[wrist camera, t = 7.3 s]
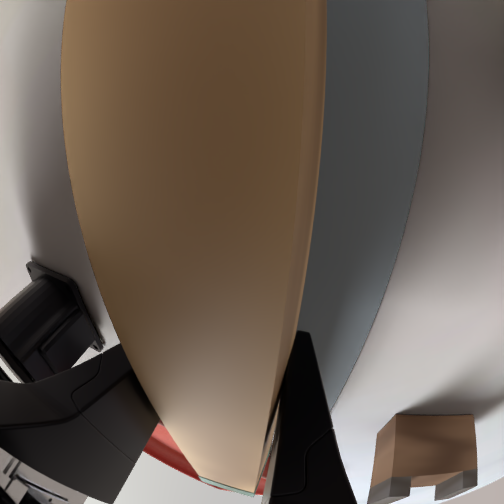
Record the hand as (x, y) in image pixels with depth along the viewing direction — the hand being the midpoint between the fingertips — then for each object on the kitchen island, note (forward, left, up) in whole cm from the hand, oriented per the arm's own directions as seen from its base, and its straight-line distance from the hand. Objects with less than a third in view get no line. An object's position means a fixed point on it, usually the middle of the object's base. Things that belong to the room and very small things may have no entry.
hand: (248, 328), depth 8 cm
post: (+11, -9, -2) cm, 14 cm away
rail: (0, 0, 0) cm, 0 cm away
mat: (0, 0, -2) cm, 2 cm away
